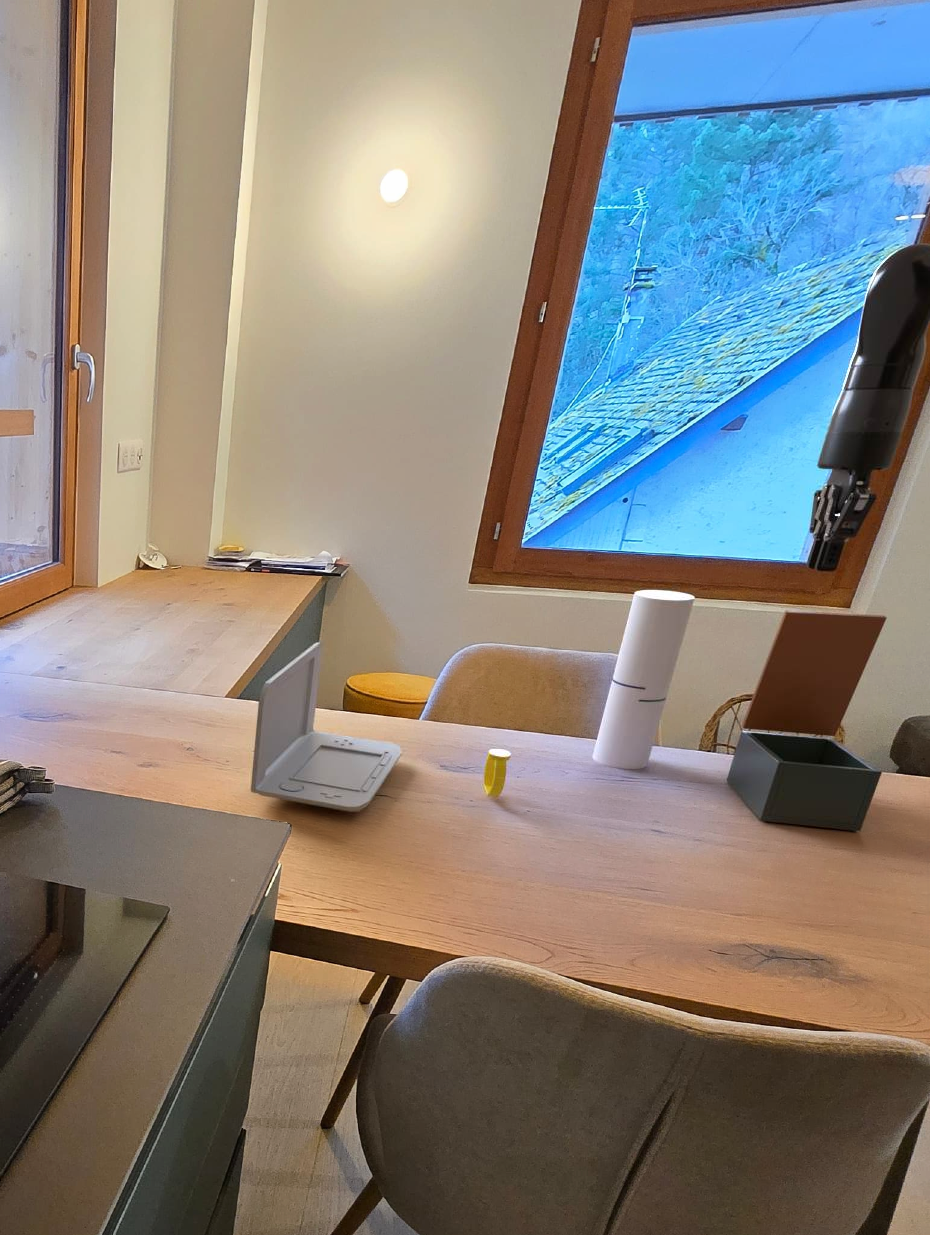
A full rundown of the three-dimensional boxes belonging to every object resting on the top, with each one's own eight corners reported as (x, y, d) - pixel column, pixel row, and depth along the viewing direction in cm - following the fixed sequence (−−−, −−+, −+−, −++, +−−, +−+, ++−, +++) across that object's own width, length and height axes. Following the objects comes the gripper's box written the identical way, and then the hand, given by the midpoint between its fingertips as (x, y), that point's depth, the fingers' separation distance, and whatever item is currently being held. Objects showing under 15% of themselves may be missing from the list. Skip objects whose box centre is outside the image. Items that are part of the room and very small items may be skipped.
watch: (475, 784, 134) (484, 743, 132) (497, 785, 134) (505, 745, 131) (483, 800, 129) (492, 758, 127) (506, 801, 129) (515, 760, 126)
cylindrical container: (595, 752, 148) (637, 588, 137) (648, 761, 144) (696, 593, 133) (588, 766, 143) (631, 596, 132) (643, 776, 139) (692, 602, 128)
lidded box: (860, 831, 119) (882, 771, 116) (759, 820, 123) (778, 762, 120) (814, 792, 133) (833, 738, 130) (725, 783, 136) (741, 730, 133)
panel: (887, 617, 120) (884, 615, 121) (786, 612, 124) (785, 610, 124) (835, 736, 129) (833, 733, 130) (743, 728, 133) (741, 726, 133)
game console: (362, 817, 123) (379, 702, 116) (250, 796, 130) (260, 686, 123) (405, 751, 144) (422, 650, 138) (308, 736, 151) (319, 639, 145)
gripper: (926, 428, 115) (876, 577, 121) (877, 430, 127) (834, 565, 133) (850, 428, 117) (805, 574, 124) (809, 430, 129) (770, 563, 136)
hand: (820, 569), depth 129 cm, fingers closed
